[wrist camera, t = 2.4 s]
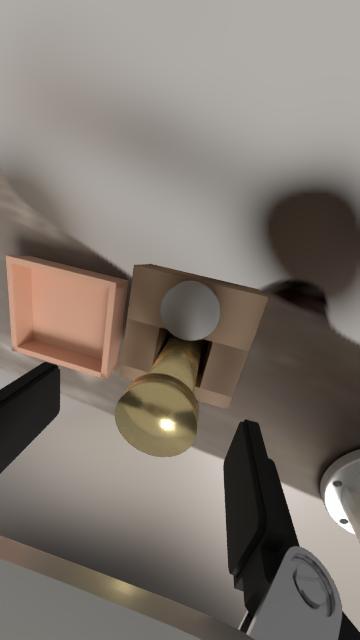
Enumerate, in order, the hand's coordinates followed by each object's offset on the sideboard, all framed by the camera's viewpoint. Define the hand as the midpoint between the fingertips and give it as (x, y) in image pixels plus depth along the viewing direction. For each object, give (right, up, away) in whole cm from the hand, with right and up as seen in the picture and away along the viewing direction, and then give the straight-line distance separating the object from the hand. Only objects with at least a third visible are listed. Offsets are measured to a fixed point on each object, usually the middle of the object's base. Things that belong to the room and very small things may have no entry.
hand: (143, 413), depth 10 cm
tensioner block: (+3, +4, +10) cm, 11 cm away
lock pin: (+3, +3, +10) cm, 11 cm away
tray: (-10, +5, +12) cm, 16 cm away
